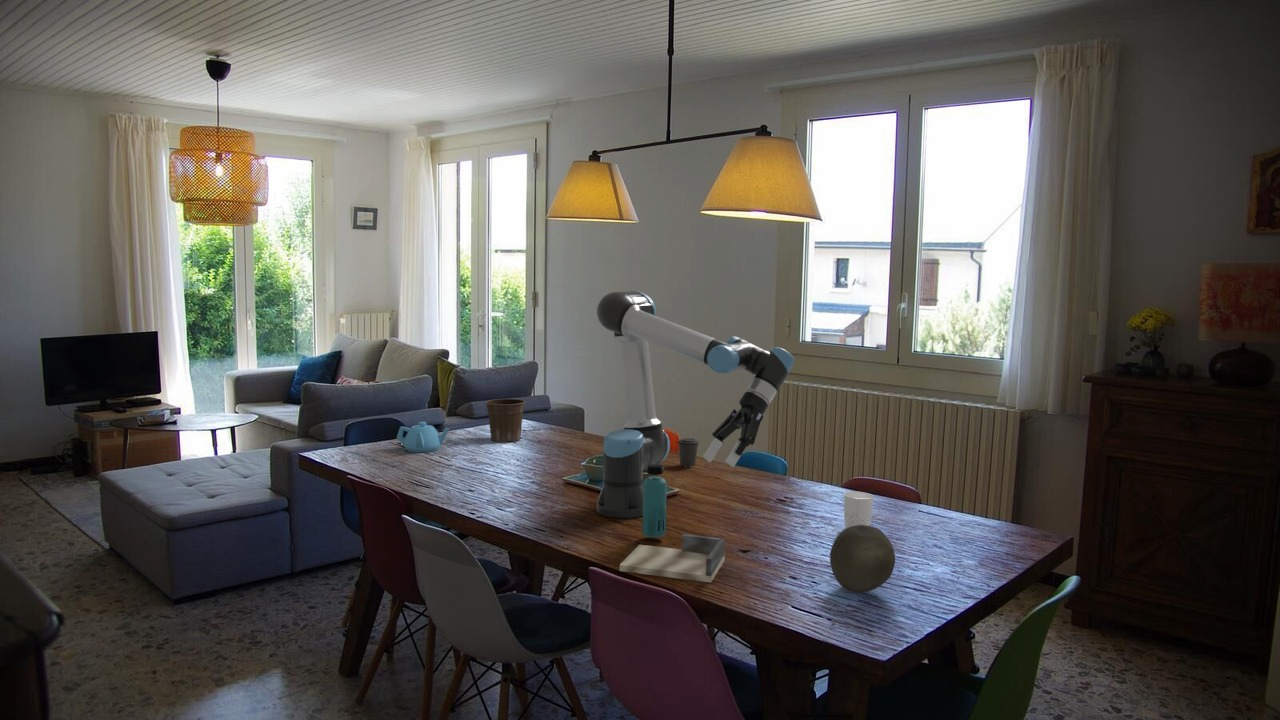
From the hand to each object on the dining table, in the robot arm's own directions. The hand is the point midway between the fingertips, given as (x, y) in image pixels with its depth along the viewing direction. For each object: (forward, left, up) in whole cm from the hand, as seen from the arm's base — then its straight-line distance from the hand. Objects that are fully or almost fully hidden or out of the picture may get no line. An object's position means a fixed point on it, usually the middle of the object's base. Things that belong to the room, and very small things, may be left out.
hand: (717, 462), depth 232 cm
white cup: (+37, +15, -19) cm, 45 cm away
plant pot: (-108, +92, -19) cm, 143 cm away
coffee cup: (-26, +74, -19) cm, 81 cm away
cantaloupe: (+40, -33, -19) cm, 55 cm away
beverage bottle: (-14, -13, -19) cm, 27 cm away
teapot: (-129, +63, -20) cm, 145 cm away
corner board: (-4, -31, -19) cm, 37 cm away
